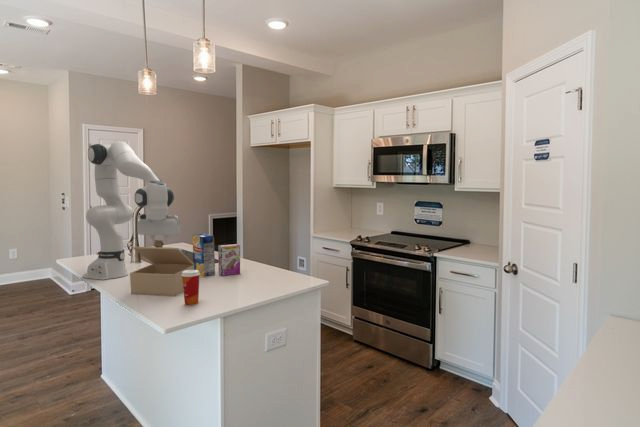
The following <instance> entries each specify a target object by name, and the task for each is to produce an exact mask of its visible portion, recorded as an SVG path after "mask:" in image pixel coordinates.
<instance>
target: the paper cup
mask: <svg viewBox="0 0 640 427" xmlns="http://www.w3.org/2000/svg"><path fill="white" fill-rule="evenodd" d="M199 275H200V273H199V271H198V270H186V271H183V272H182V275H181V276H182V280H183V300H184V305H186V306H195V305H197V304H199V292H200V276H199Z"/></svg>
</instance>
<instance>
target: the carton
mask: <svg viewBox="0 0 640 427" xmlns="http://www.w3.org/2000/svg"><path fill="white" fill-rule="evenodd" d="M186 270H194V265H181V264H153V263H152V264H149V265H147V266H144V267H141V268H139V269H136V270H134V271H131V272H130V273H129V277H130V278H129V279H130V280H129V282H130V294H131V295H139V296H140V295H141V296H145V295H146V296H163V297H164V296H167V297H177V296H178V295H180V294H181V293H182V292H183V293H184V291H183V280H182V276H181V275H182V272H183V271H186Z"/></svg>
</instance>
